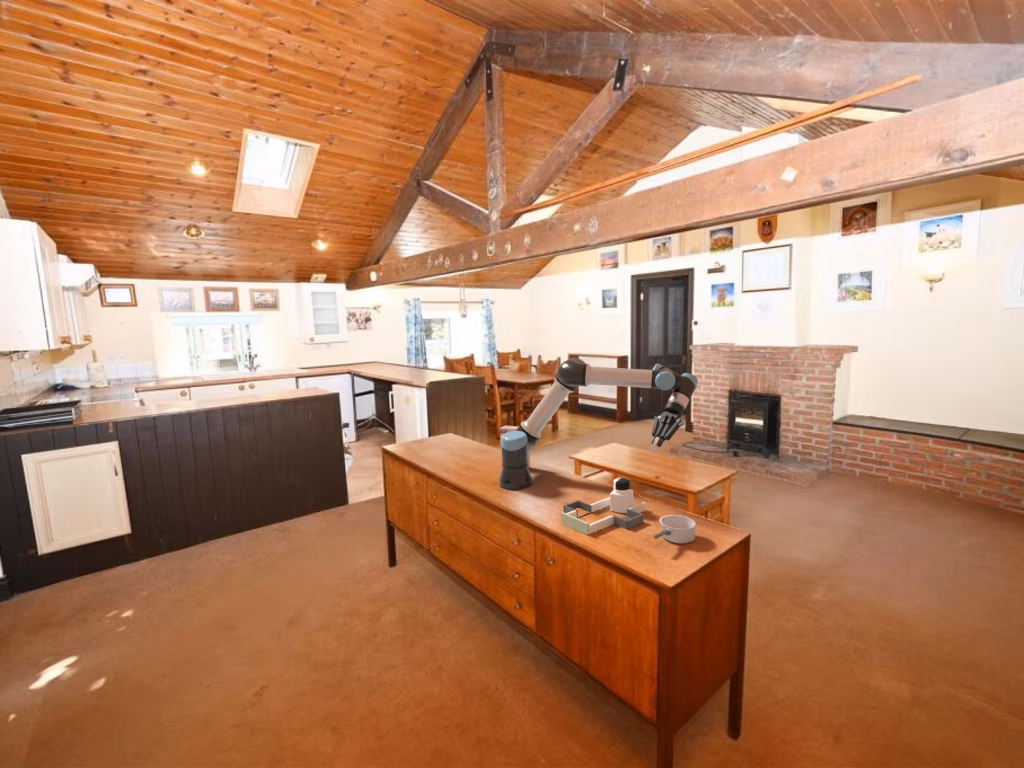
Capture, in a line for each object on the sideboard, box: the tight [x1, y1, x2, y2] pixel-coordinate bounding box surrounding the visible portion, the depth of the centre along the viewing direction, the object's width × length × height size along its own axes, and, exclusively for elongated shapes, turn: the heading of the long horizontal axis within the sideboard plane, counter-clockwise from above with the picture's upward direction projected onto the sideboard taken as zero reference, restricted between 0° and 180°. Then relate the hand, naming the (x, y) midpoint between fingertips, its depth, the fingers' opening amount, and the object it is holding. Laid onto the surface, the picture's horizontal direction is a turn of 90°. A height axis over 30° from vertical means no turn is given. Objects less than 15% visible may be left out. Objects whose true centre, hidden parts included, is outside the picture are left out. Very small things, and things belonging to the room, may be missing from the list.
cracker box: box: [499, 425, 531, 469], centre depth 234 cm, size 14×6×21 cm, turn 59°
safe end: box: [560, 511, 590, 536], centre depth 161 cm, size 1×13×4 cm, turn 37°
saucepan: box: [653, 514, 697, 544], centre depth 149 cm, size 12×20×6 cm, turn 133°
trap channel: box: [562, 496, 647, 535], centre depth 171 cm, size 31×25×3 cm
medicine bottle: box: [609, 477, 634, 515], centre depth 176 cm, size 7×7×12 cm
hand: (652, 452), depth 185 cm, fingers closed
